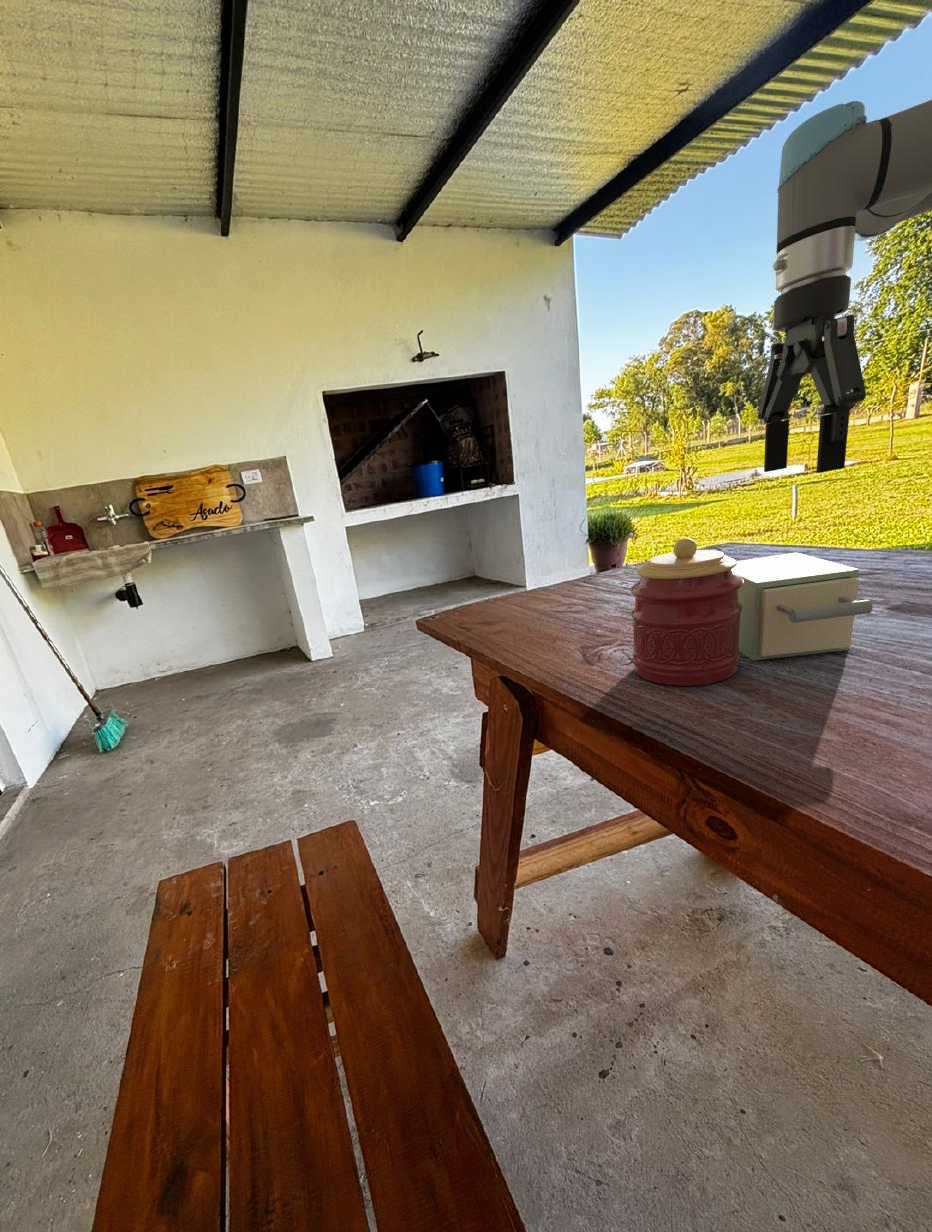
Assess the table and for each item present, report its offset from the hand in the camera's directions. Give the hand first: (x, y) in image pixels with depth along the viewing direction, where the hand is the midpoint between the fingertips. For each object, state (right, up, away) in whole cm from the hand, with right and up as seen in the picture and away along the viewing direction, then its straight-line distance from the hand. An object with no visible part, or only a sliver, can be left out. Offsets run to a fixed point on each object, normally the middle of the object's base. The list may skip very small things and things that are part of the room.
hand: (800, 470), depth 71 cm
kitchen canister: (-15, -27, +1) cm, 31 cm away
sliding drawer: (-1, -23, +1) cm, 23 cm away
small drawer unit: (0, -22, +5) cm, 23 cm away
